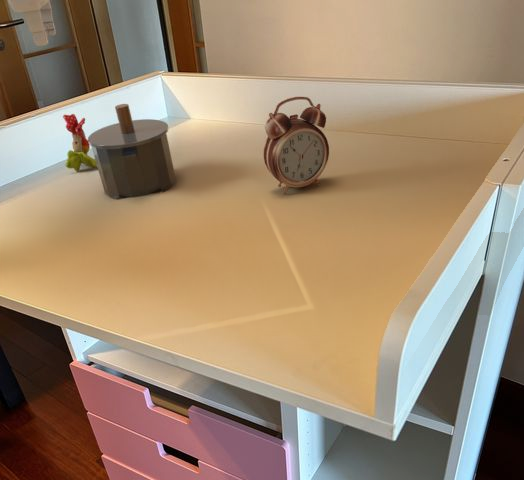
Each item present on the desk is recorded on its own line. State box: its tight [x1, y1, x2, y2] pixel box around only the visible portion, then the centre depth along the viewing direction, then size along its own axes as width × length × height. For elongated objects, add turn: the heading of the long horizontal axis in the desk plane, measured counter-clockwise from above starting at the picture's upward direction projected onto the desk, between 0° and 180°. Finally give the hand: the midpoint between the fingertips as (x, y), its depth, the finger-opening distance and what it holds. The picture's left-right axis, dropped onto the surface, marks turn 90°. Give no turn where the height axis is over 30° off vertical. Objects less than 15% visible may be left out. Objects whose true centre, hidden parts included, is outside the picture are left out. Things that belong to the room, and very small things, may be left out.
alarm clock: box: [263, 96, 330, 195], centre depth 95 cm, size 11×5×15 cm, turn 112°
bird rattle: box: [62, 113, 97, 172], centre depth 118 cm, size 6×11×9 cm
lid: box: [87, 103, 169, 149], centre depth 101 cm, size 15×15×6 cm
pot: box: [90, 133, 177, 201], centre depth 105 cm, size 14×19×10 cm
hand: (46, 40), depth 84 cm, fingers open, 8 cm apart
